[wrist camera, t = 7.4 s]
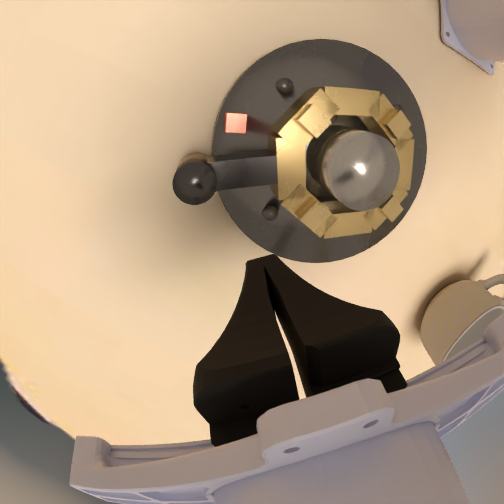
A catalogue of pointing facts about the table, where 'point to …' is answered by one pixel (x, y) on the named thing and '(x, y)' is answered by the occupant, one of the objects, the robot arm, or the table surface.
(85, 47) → the table surface
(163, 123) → the table surface
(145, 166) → the table surface
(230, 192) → the cap plate
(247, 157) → the gold handled ring
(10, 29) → the table surface
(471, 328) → the teacup
